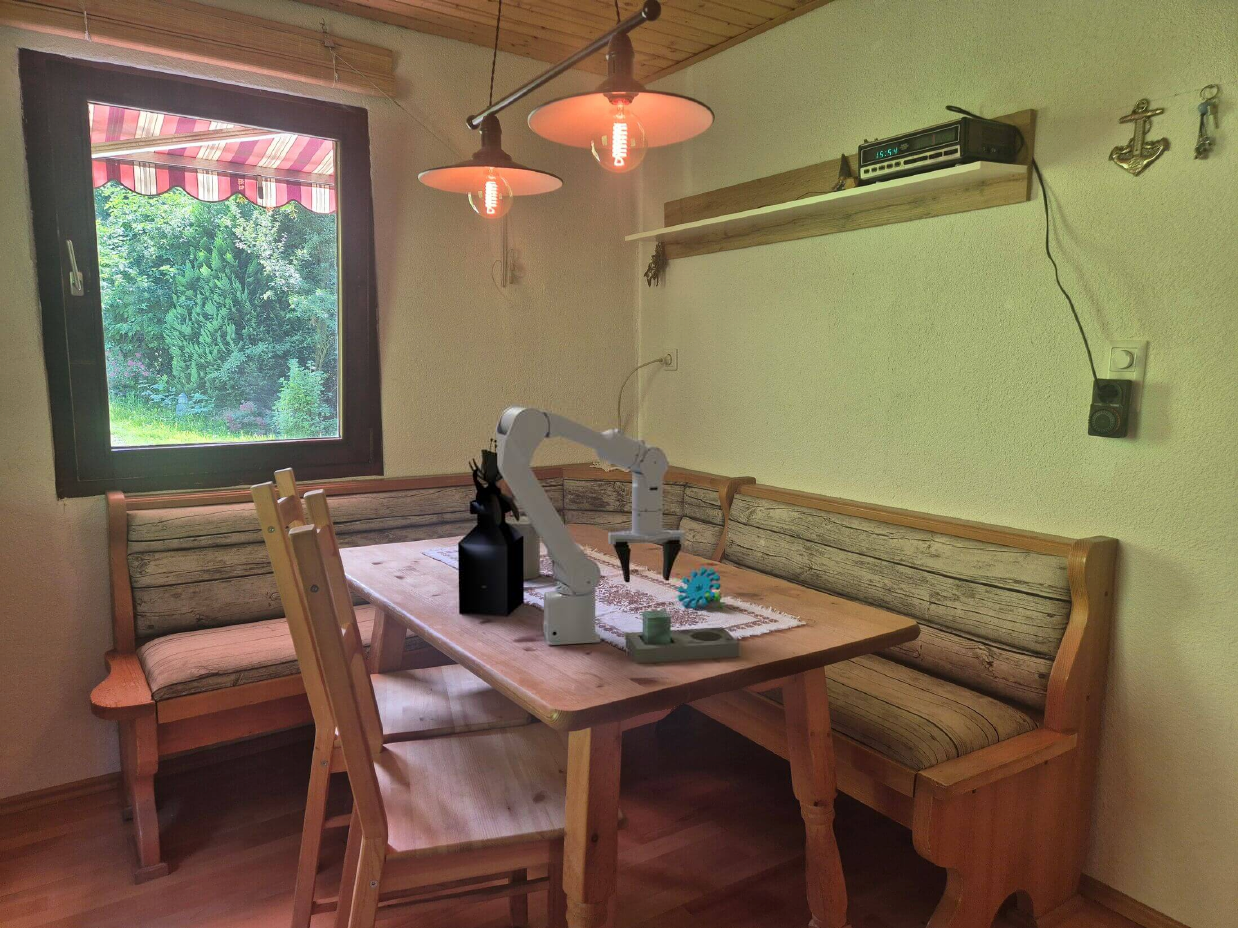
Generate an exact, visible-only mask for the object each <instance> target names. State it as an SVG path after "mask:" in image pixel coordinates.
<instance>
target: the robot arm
mask: <svg viewBox="0 0 1238 928" xmlns="http://www.w3.org/2000/svg"><path fill="white" fill-rule="evenodd" d="M494 431H495V435H496V440H497V442H496V445H497V448H496V453H497V465H498V469H499V471H500V473H501V475H502V476H503V478H502V479H503V480H504V481H505V483H506V485H507V486H508V487H509V489H510V491H511V492H512V494H513V496H514V497H515V498H516V501H517V503H518V504H519V506H520V507H521V508H522V510H523V513H524V514H525V515H526V517H528V519H529V520H530V522H531V524H532V525H533V527H534V529H535V530H536V532H537V533H538V535H539V537H540V541H542V543H543V545H544V547H545V548H546V555H547V557H548V558H549V560H550V564H551V573H552V574H553V576H554V578H555V579H556V580H557V583H556V586H555V589H554V590H549V591H545V592H544V595H543V627H542V629H543V634H544V637H545V640H546V642H547V645H548V646H559V645H575V644H576V645H577V644H589V643H590V644H591V643H592V644H593V643H600V642H601V638H600V636H599V635H598V632H597V631H596V588H597V586H598V585H599V584H600V580H601V579H602V577H601V575H602V573H601V568H600V567H599V565H598V563H597V562H596V561H594V560H593V559H592V558H590V557H588V555H587V554H586V553H585V551H584V550H583V548H582V547H581V546H580V545H579V544H578V543H577V542H576V541H575V539H573V537H572V535H571V534H570V532H569V530H568V528H567V526H566V525H565V523H564V521H563V520H562V518H561V516H560V515H559V513H558V512H557V510H556V508H555V507H554V505H553V503H552V502H551V500H550V499H549V496H548V495H547V493H546V491H545V490H544V488H543V486H542V485H541V483H540V482H539V479H538V478H537V476H536V474H535V473H534V471H533V470H532V468H531V462H532V459H533V457H534V453H535V451H536V450H537V449H538V447H539V446H540V445H541V444H542V443H543V441H544V439H548V440H549V439H553V438H557V437H560V438H564V439H565V440H569V441H570V442H575V443H577V444H579V445H582V446H584V447H588V448H591V449H593V450H594V451H595V454H596V456H597V458H598V459H599V460H601V461H604V462H607V463H609V464H611V465H614V466H618V467H619V468H623V469H625V470H628V471H629V472H631V474H632V476H631V477H632V485H631V486H632V487H631V488H632V489H631V490H632V491H631V495H632V496H631V513H632V514H631V530H626V531H625V530H624V531H615V532H614V531H613V532H608V533H607V534H608V535H607V536H608V537H607V541H608V542H607V543H608V544H609V545H611V546H612V545H613V546H612V547H613V548H614V550H615V552H616V555H617V557H618V560H619V563H620V567H621V570H622V575H623V581H624V582H625V583H630V581H631V571H630V570H631V569H630V564H631V563H630V562H631V561H630V560H631V551H632V549H631V548H630V545H629V544H644V543H645V544H647V543H662V553H663V554H662V555H663V560H662V561H663V563H662V564H663V565H662V566H663V567H662V579H663V580H664V581H667V582H668V581H670V579H671V578H670V577H671V573H672V571H673V566H674V564H675V561H676V559H677V557H678V555H679V553H680V551H681V549H682V544H681V543H685V542H686V531H684V530H683V529H681V530H680V529H678V530H673V529H671V530H669V529H663V506H664V505H663V502H664V501H663V497H664V496H663V495H664V494H663V493H664V488H663V487H664V476H665V474H666V472H668V469H669V466H670V461H668V459H667V455H666V453H665V452H664V450H663V449H661V448H660V447H657V446H653V445H647V444H646V440H644V439H642V438H638V439H635V438H633V437H630V436H628V435H626V434H624V432H625V431H624V430H622V429H619V428H614V429H607V430H605V431H603V432H599V431H596V430H595V429H593V428H590V427H588V426H585V425H583V424H581V423H579V422H577V421H574V420H573V419H570V418H569V417H566V416H563V415H561V414H557V413H553V412H548V411H543V410H539V409H538V408H535V407H523V406H520V405H513V406H510V407H508V408H506V409H505V410H504V411H502V413H501V415H500V416H499V418H498V422H497V424H496V426H495V430H494Z"/></svg>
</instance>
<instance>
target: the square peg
mask: <svg viewBox="0 0 1238 928" xmlns="http://www.w3.org/2000/svg"><path fill="white" fill-rule="evenodd" d="M671 617H672V616H671V615H670V614H669V613H668V612H667V611H666V610H664V609H662V610H661V609H660V610H643V611H642V632H643V636H642V642H643V643H644V644H645V645H655V644H670V633H671V630H672V629H671V628H672V627H671V621H672V618H671Z"/></svg>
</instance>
